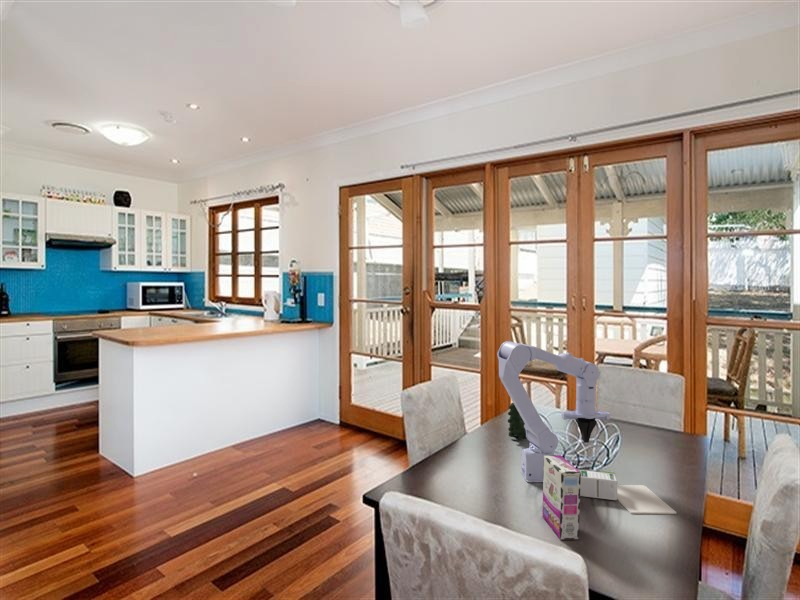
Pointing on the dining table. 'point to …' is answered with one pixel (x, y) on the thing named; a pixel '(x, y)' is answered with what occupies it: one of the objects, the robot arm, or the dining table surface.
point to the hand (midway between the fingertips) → (585, 441)
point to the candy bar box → (561, 497)
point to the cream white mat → (641, 500)
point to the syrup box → (598, 484)
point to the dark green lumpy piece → (516, 423)
